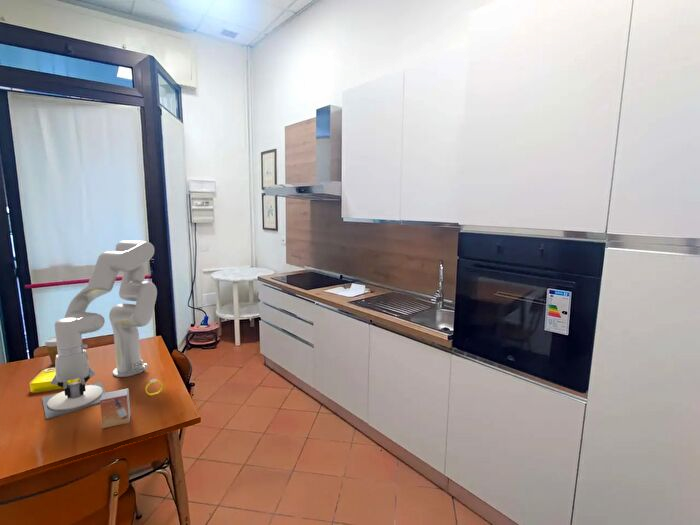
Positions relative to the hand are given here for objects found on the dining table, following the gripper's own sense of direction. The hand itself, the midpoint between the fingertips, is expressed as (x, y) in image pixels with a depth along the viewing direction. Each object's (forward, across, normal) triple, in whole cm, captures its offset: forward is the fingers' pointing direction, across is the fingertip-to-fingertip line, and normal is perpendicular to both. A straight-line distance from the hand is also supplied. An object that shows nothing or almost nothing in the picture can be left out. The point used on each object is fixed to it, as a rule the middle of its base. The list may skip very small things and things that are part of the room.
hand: (75, 394), depth 137 cm
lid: (+1, 0, 0) cm, 1 cm away
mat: (+2, 0, 0) cm, 2 cm away
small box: (+2, -12, +26) cm, 29 cm away
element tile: (+3, +6, -22) cm, 23 cm away
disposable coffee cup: (+2, +7, -45) cm, 46 cm away
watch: (+2, -25, +13) cm, 29 cm away
